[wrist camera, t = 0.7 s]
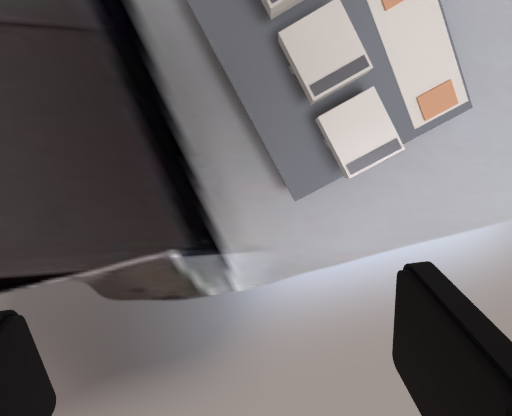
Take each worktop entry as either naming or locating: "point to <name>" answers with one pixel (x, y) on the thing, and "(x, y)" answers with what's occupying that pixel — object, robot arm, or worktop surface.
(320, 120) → the rocker
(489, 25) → the worktop surface
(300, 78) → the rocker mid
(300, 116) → the switch unit
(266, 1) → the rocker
